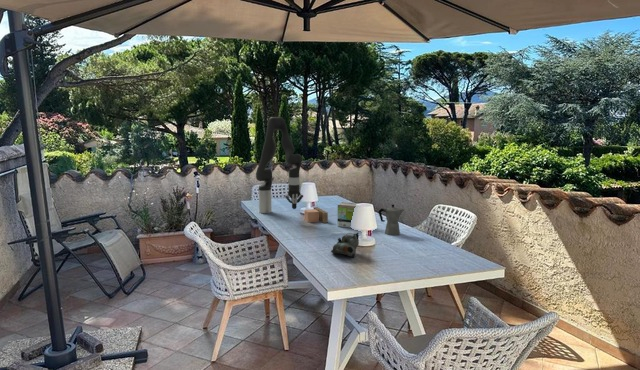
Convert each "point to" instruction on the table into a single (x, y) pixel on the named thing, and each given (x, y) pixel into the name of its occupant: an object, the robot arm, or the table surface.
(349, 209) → the tea box
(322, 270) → the table surface
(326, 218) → the walnut board
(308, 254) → the table surface
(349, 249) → the dark binoculars
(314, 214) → the terracotta block
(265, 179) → the robot arm
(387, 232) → the coffeepot
